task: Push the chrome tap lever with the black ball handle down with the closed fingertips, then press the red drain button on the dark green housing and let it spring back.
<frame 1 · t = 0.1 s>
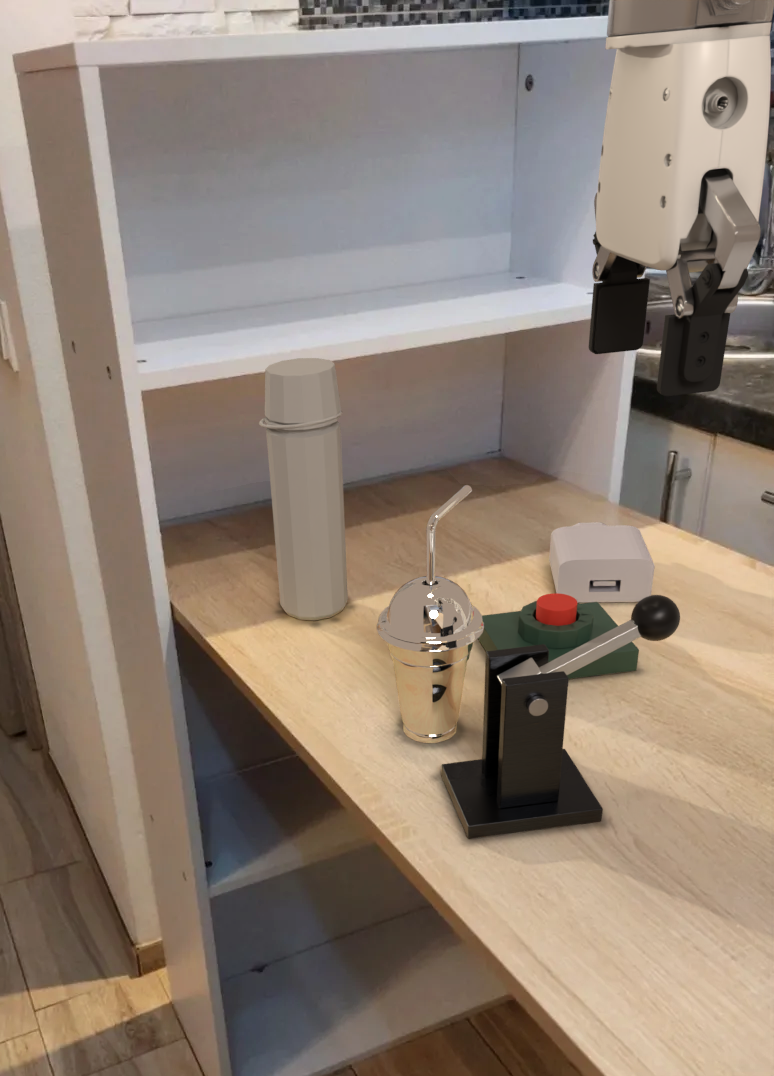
hand: (648, 370, 58), 32 cm above the table, tool pointing down, fingers open, 9 cm apart
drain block: (553, 652, 97), on the table
water bottle: (309, 606, 109), on the table
charger: (593, 573, 111), on the table
cup with straw: (432, 729, 88), on the table
drain button: (556, 610, 94), point 4 cm above the table, slide at 0.1 cm
tap lever: (590, 651, 72), point 12 cm above the table, hinge at 25.0°
black lever stand: (518, 798, 78), on the table
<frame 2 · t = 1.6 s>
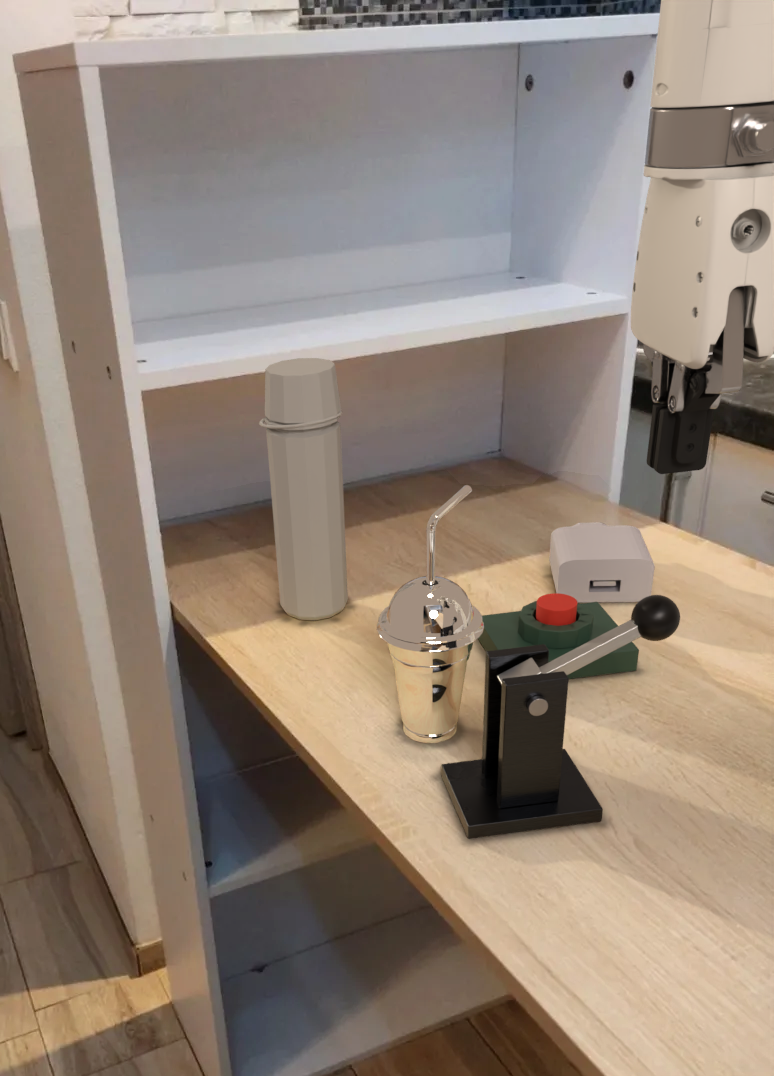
hand: (675, 467, 66), 25 cm above the table, tool pointing down, fingers closed
nothing on the table moved.
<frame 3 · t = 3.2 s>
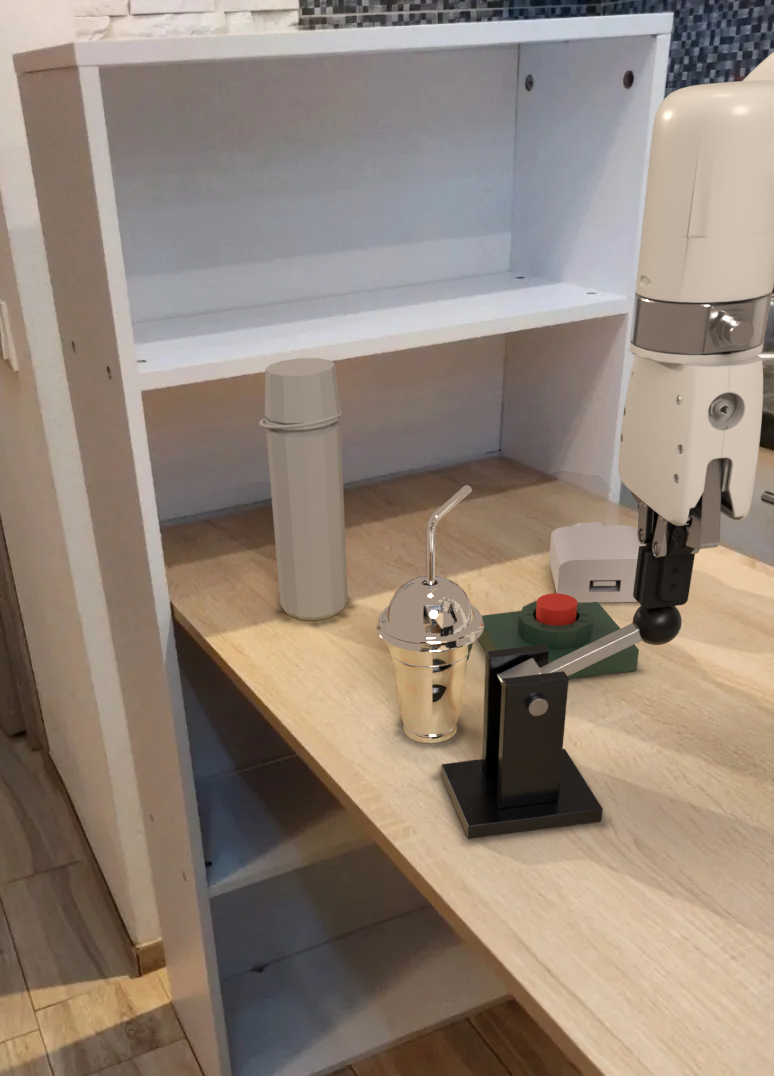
hand: (659, 601, 71), 15 cm above the table, tool pointing down, fingers closed
tap lever: (591, 653, 72), point 12 cm above the table, hinge at 22.8°, touching gripper
everything else where it was.
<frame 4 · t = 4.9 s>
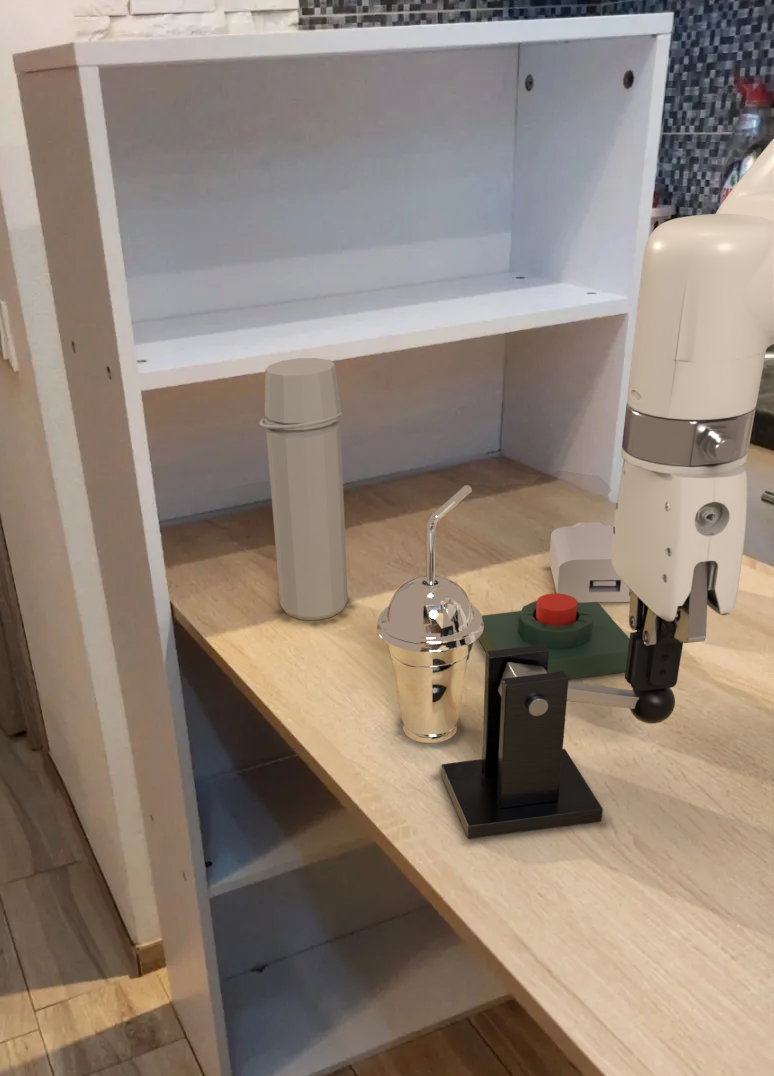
hand: (649, 683, 74), 9 cm above the table, tool pointing down, fingers closed
tap lever: (590, 694, 74), point 9 cm above the table, hinge at -15.8°, touching gripper
everything else where it was.
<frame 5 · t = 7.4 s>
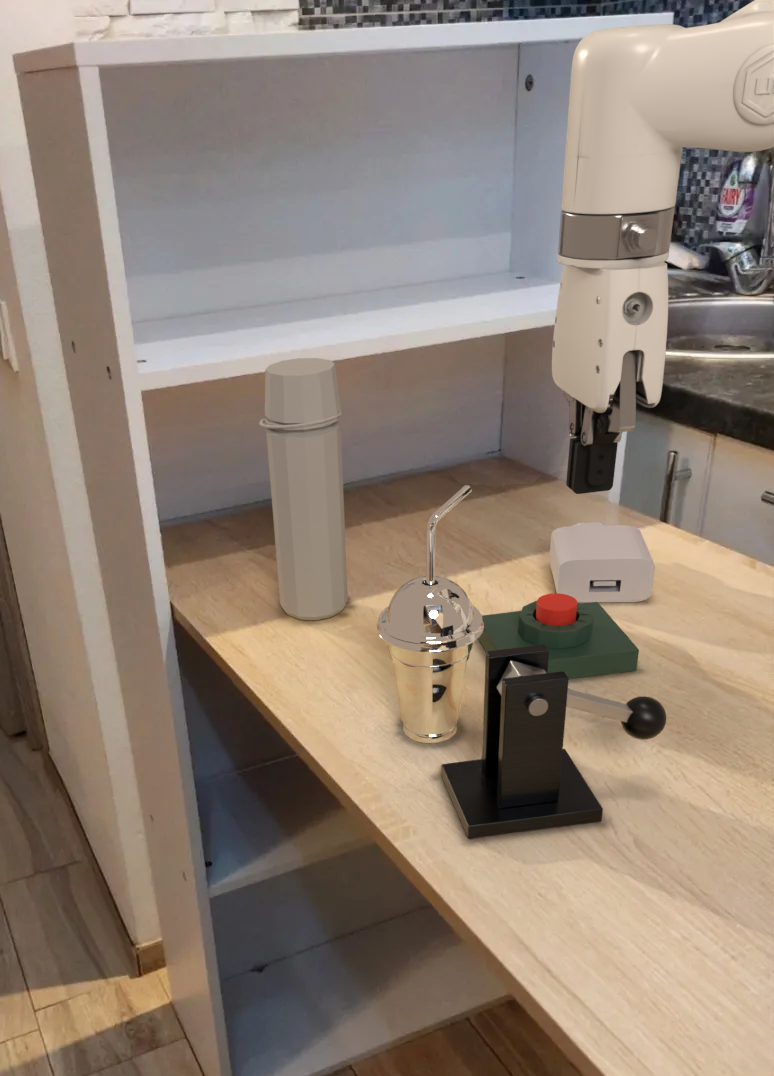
hand: (589, 488, 81), 19 cm above the table, tool pointing down, fingers closed
tap lever: (586, 702, 74), point 8 cm above the table, hinge at -23.9°
everything else where it was.
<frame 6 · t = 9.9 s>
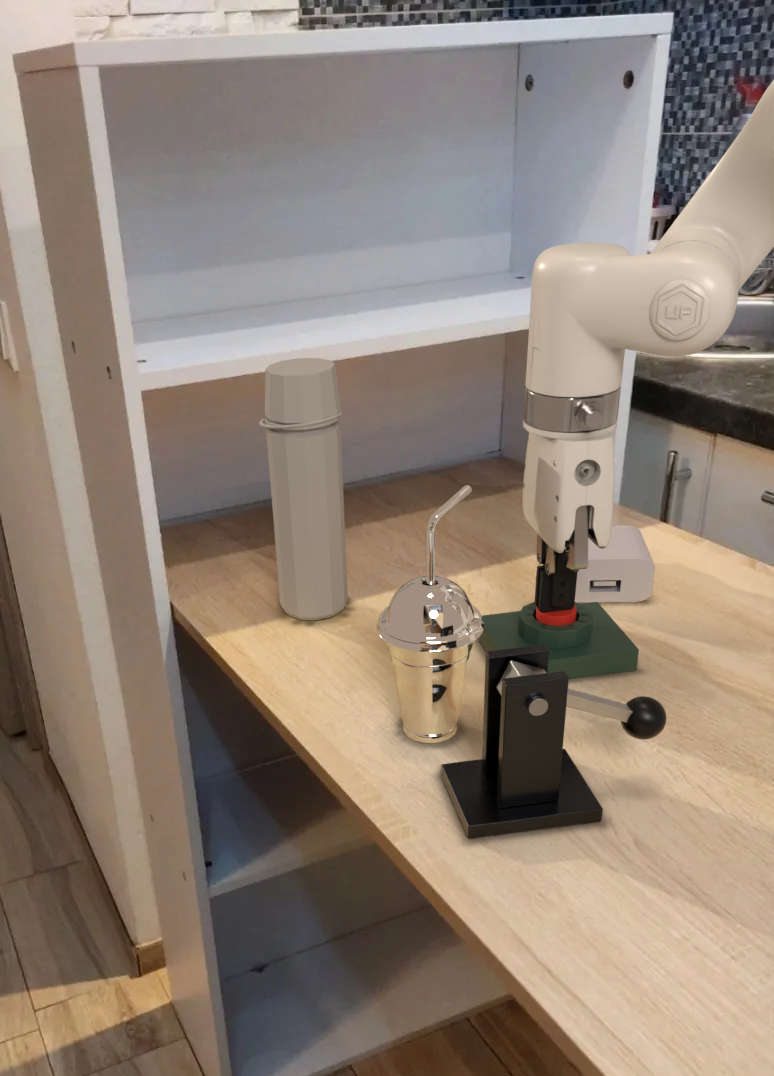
hand: (553, 607, 94), 5 cm above the table, tool pointing down, fingers closed
drain button: (555, 616, 95), point 4 cm above the table, slide at -0.5 cm, touching gripper
everything else where it was.
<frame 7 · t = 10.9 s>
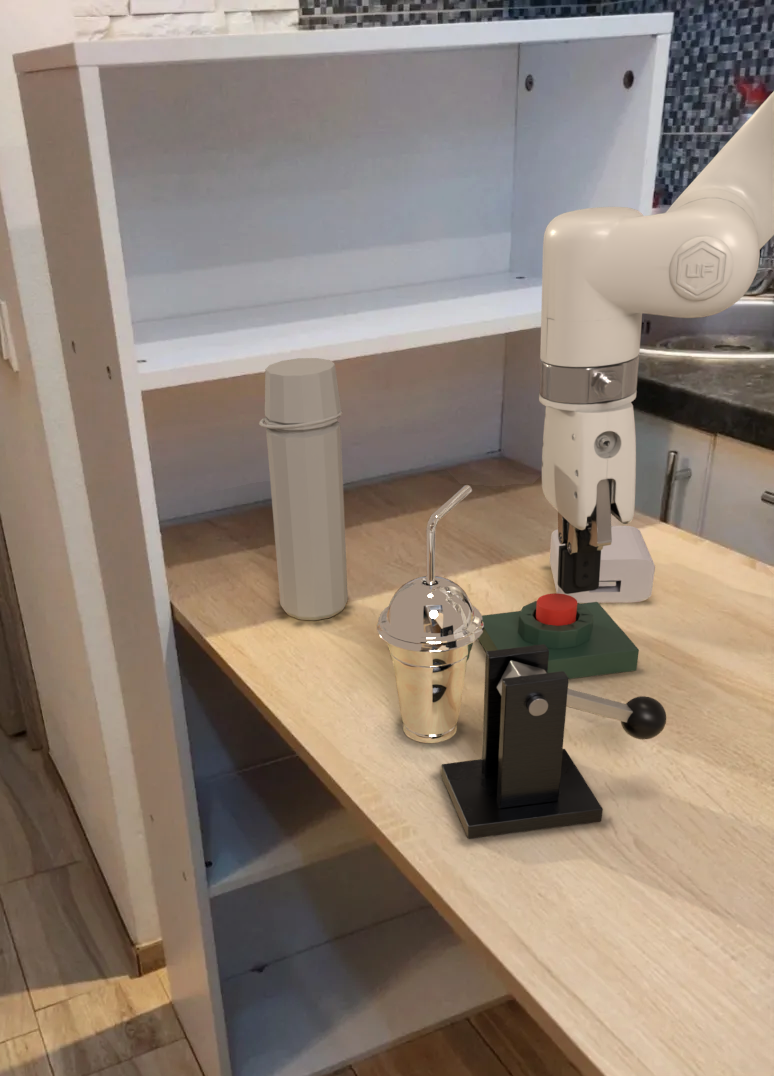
hand: (577, 588, 91), 7 cm above the table, tool pointing down, fingers closed
drain button: (556, 610, 94), point 4 cm above the table, slide at 0.1 cm
everything else where it was.
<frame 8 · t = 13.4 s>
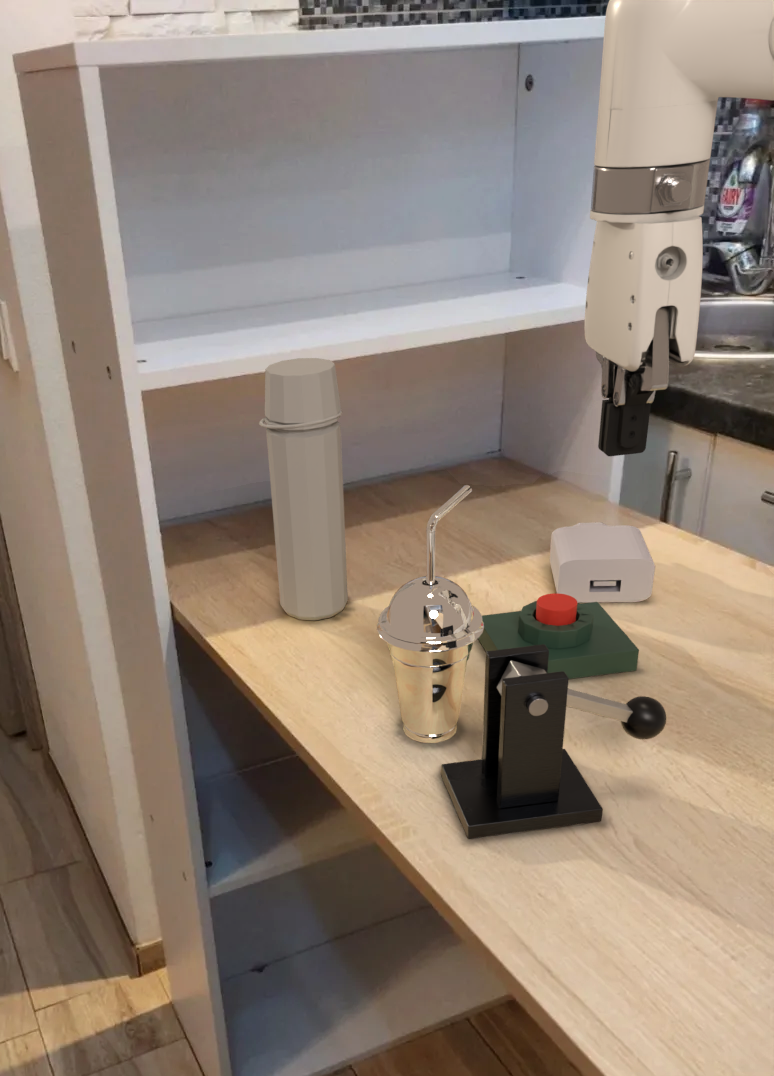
hand: (621, 451, 81), 21 cm above the table, tool pointing down, fingers closed
nothing on the table moved.
at the end: tap lever at -24° (first picture: +25°); drain button pushed in 1.1 cm at the most during the clip, back to where it started at the end; drain button slide at 0.1 cm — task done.
